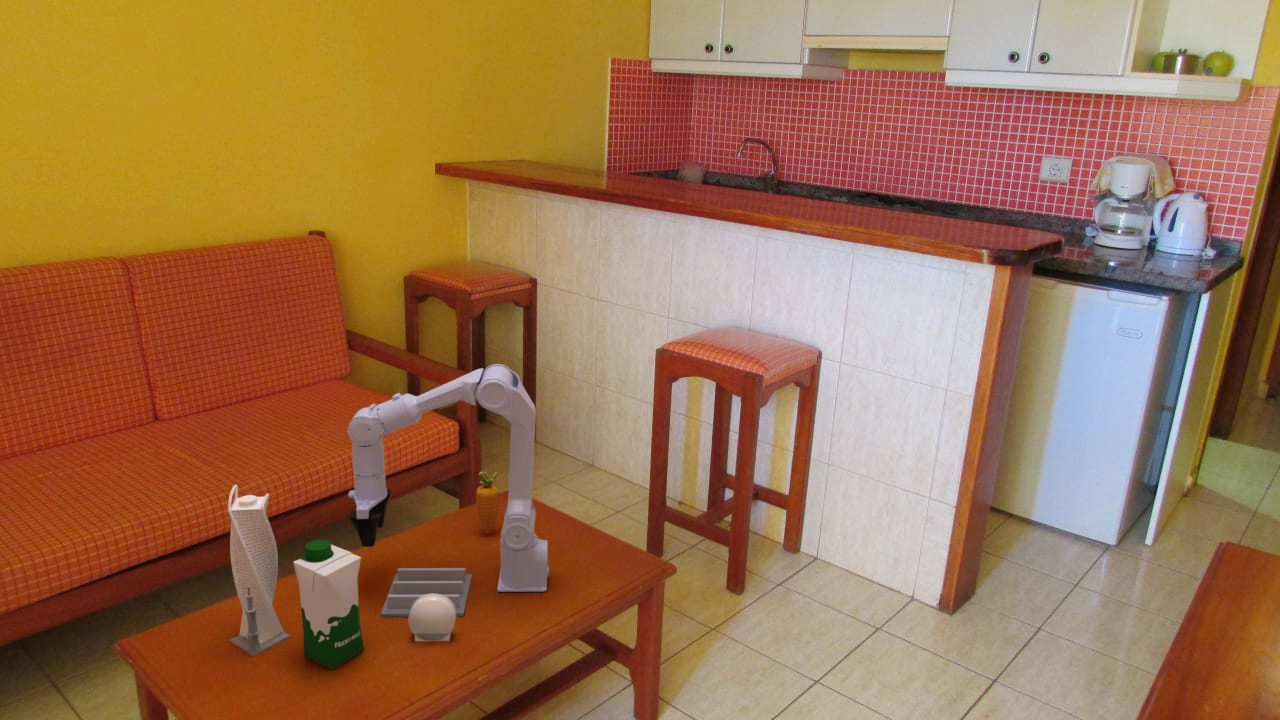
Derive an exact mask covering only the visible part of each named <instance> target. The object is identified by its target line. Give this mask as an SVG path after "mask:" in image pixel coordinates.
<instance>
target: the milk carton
mask: <svg viewBox="0 0 1280 720" xmlns="http://www.w3.org/2000/svg"><path fill="white" fill-rule="evenodd" d="M361 561H362V557H361V556H359V555H356V554H354V553H352V552H351V551H349V550H345V549H343V548H341V547H339V546H336V545H333V544H332V542H331V541H330V540H328V539H323V538H319V539H318V538H317V539H314V540H311V541H309V542H307V543H306V544H305V555H304V556H302V557H300V558H299V559H296V560H294V561H293V562H292V563H293V567H294V571H295V575H296V578H297V582H298V586H299V587H298V588H299V595H300V597H299V598H300V599H299V600H300V609H301V621H302V634H303V636H302V637H303V656H304V657H306V658H308V659H310V660H312V661H314V662H316V663H318V664H320V665H321V666H323V667H325V668H327V669H329V670H331V671H333V670H334V669H336V668H337V667H339V666H340V665H342V664H345V662H347V661H349V660H350V659H352V658H353V657H355V656H356V655H358V654H359V653H361V652H363V651H364V650H365V645H364V640H363V633H362V625H361V619H360V618H361V616H360V601H359V600H360V599H359V584H358V578H359V572H360V568H361V566H360V565H361Z"/></svg>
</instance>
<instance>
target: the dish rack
mask: <svg viewBox="0 0 1280 720" xmlns="http://www.w3.org/2000/svg"><path fill="white" fill-rule="evenodd" d="M472 579H473V575H472V573H471V574H470V573H468V574H467V573H466V568H465V567H434V568H433V567H431V568H430V567H417V568H415V567H413V568H411V567H410V568H405V567H403V568H402V567H401V568H399V567H398V568H397V574H395V575H394V578H393V580H392V583H391V585H390V588H389V591H388V594H387V596H386V598H385V601H384V604H383V606H382V609H381V612H380V617H381V618H386V617H387V618H388V617H389V618H390V617H391V618H392V617H396V618H397V617H398V618H399V617H401V618H402V617H404V618H406V617H408V618H409V614H410V611H411V608H412V605H413V603H414V602H415V601H416V600H417V599H418V598H419V597H421V596H423V595H426V594H431V593H436V594H441V595H443V596H446V597H447V598H449V599H450V600H451V601H452V602H453V604H454V605H455V608H456V617H464V615H465V610H466V605H467V601H468V596H469V592H470V587H471V585H472V584H471V582H472Z"/></svg>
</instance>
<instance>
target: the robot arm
mask: <svg viewBox="0 0 1280 720" xmlns="http://www.w3.org/2000/svg"><path fill="white" fill-rule="evenodd" d="M391 398H392V399H389V400H387V401H385V402H382V403H380V404H375V403H373V404H370V405H369V406H367V407H362V408H361V409H359V410H358V411H357V412H356V413H355V415H354V416H353V417H352V419H351V420H350V421H349V424H348V426H347V435H348V438H349V440H350V441H351V445H352V447H351V448H352V449H351V454H352V457H351V458H352V473H353V485H354V486H353V488H354V489H352V490H350V491H348V494H347V496H348V498H350V499H354V503H355V506H356V509H355V510H351V511H350V513H349V515H348V516H349V520H350V522H351V523H352V525H353V526H354V528H355V530H356V532H357V535H358V538H359V540H360V543H361V546H362V547H364V548H365V547H367V548H368V547H374V546H375V544H376V538H377V528H378V529H379V528H380V529H381V528H383V526H384V524H385V523H384V522H385V516H386V510H387V506H388V502H389V499H390V497H391V494H392V489H390V488H387V484H386V464H385V446H384V439H383V438H384V437H383V435H389V434H391V433H394V432H397V431H399V430H402V429H404V428H407V427H409V426H412V425H415V424H416V423H419V422H420V420H421V418H422V415H423V414H424V413H428V412H430V411H433V410H436V409H438V408H442V407H444V406H448V405H451V404H453V403H456V402H460V401H463V402H465V403H467V404H470V405H471V406H476V405H477V401H478V403H479V405H480V406H481V407H482V408H483V409H485V410H487V411H489V412H492V413H495V414H497V415H500V416H502V417H503V418H504V419H505V420H507V422H509V423H510V442H509V444H510V445H509V468H508V490H507V491H508V495H507V497H508V498H507V506H506V507H505V510H504V513H503V514H504V515H503V517H504V518H503V525H502V529H501V531H500V539H499V540H500V541H499V542H500V545H499V546H500V571H499V576H498V577H499V578H498V581H497V582H498V583H497V588H496V590H497V592H499V593H505V592H506V593H510V592H511V593H514V592H516V593H517V592H518V593H520V592H521V593H523V592H528V593H529V592H531V593H535V592H537V593H539V592H540V593H541V592H543V593H544V592H546V591H547V589H548V587H547V586H548V577H549V576H550V567H549V566H548V565H549V563H548V559H549V558H548V557H549V556H548V555H549V554H548V553H549V552H548V551H549V549H548V546H549V544H548V542H549V541H548V540H545V539H541V538H538V535H537V534H536V532H535V523H536V519H537V511H536V509H535V507H534V505H533V479H534V478H533V477H534V461H535V459H534V456H535V436H536V435H535V434H536V420H537V419H536V414H537V411H536V406H535V404H534V402H533V401H532V399H531V397H530V395H529V394H528V392H527V391H526V388H525V387H524V385H523V383H522V381H521V378H520V376H519V375H518V374H517V373H516V372H514V371H513V370H512V369H511V368H510V367H508V366H506V365H504V364H500V363H496V364H491V365H489V366H487V367H486V368H485V369H484V368H483V367H482V368H478V369H475V370H473V371H471V372H469V373H466V374H465V375H462V376H459V377H457V378H455V379H453V380H451V381H449V382H446V383H444V384H442V385H440V386H437V387H435V388H432V389H431V390H429V391H427V392H424V393H421V394H420V395H413V394H411V393H404V394H401V392H397V393H395V394H393V395H392V397H391Z"/></svg>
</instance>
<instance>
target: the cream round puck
mask: <svg viewBox="0 0 1280 720" xmlns="http://www.w3.org/2000/svg"><path fill="white" fill-rule="evenodd" d="M407 619H408V620H407V621H408V628H409V629H410V631H411V632H412V633H413V635H414V641H415V642H450V640H451V635H452V632H453V630H454V629H455V628H454V627H455V624H456V623H455V622H456V619H457V616H456V608H455V605H454V604H453V602H452V601H451V600H450V599H449V598H447V597H446V596H443V595H441V594H436V593H431V594H426V595H423V596H421V597H419V598H418V599H417V600H416V601H415V602H414V603H413V605H412V608H411V611H410V614H409V617H408V618H407Z"/></svg>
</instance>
